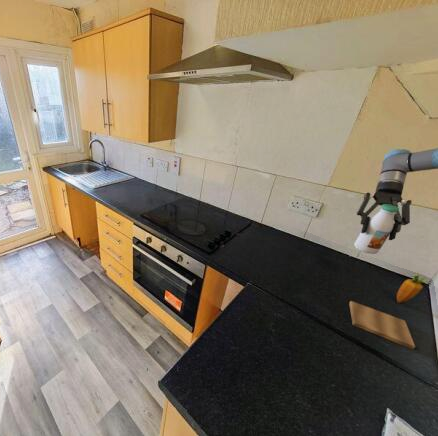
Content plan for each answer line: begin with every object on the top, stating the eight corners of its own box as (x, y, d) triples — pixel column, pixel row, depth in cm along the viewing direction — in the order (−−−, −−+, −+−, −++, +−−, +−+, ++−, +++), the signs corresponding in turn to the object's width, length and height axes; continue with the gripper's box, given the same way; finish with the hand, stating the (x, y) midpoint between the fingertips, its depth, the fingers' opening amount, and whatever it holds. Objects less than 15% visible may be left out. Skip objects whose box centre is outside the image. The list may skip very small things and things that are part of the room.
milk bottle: (354, 250, 94) (379, 206, 84) (352, 241, 100) (376, 200, 90) (378, 257, 90) (408, 212, 81) (375, 247, 96) (402, 205, 86)
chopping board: (402, 323, 84) (404, 320, 84) (412, 349, 75) (415, 346, 75) (349, 303, 92) (350, 300, 91) (352, 325, 83) (354, 322, 82)
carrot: (406, 302, 93) (429, 275, 86) (407, 309, 90) (431, 282, 83) (390, 295, 96) (411, 268, 89) (390, 302, 93) (412, 275, 85)
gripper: (419, 195, 91) (407, 246, 87) (354, 184, 100) (341, 230, 96) (432, 186, 84) (420, 242, 80) (362, 175, 94) (348, 224, 90)
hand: (377, 235), depth 88 cm, fingers closed on milk bottle, 8 cm apart
